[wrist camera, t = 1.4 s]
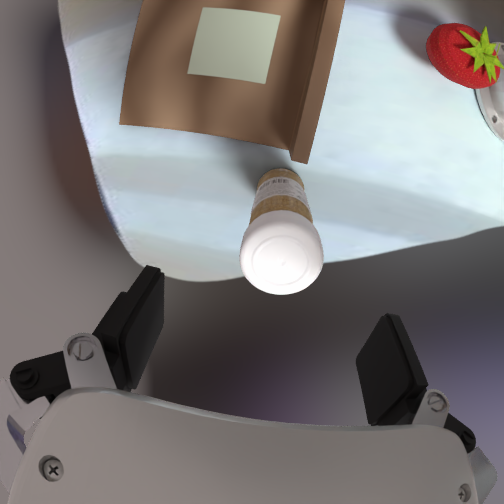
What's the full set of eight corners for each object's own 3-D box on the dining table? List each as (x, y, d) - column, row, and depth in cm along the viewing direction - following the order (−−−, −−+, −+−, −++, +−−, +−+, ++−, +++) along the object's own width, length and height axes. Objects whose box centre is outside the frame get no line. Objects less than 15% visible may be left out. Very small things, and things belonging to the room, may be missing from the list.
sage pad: (280, 16, 18) (280, 15, 18) (265, 84, 21) (265, 84, 21) (203, 8, 18) (202, 7, 18) (188, 73, 21) (187, 73, 21)
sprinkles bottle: (257, 212, 28) (240, 296, 16) (256, 166, 26) (235, 222, 14) (304, 212, 28) (320, 298, 16) (305, 167, 25) (328, 223, 14)
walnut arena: (339, -14, 16) (352, -38, 11) (301, 152, 25) (307, 164, 20) (156, -30, 16) (132, -50, 11) (122, 123, 24) (90, 130, 20)
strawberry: (401, 26, 17) (454, -1, 8) (462, 44, 16) (523, 36, 8) (406, 80, 20) (465, 75, 11) (466, 95, 19) (530, 102, 10)
